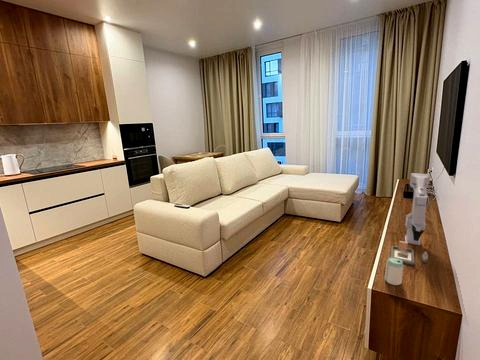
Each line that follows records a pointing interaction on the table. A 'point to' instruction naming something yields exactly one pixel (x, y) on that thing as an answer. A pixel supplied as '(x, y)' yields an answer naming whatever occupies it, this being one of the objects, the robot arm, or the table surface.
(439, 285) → the table surface
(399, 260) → the can
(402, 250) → the square frame with handle
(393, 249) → the tray
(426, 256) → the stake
